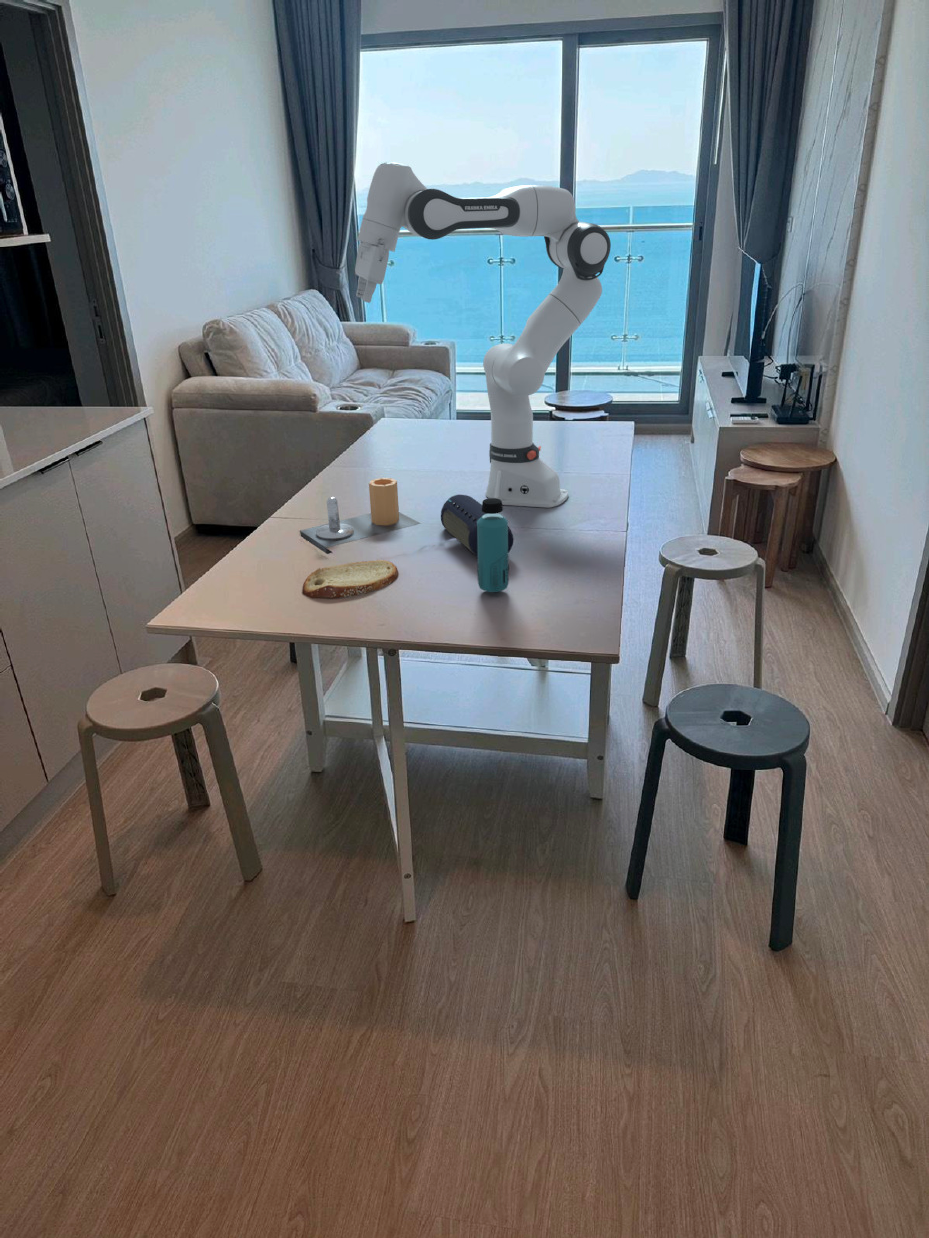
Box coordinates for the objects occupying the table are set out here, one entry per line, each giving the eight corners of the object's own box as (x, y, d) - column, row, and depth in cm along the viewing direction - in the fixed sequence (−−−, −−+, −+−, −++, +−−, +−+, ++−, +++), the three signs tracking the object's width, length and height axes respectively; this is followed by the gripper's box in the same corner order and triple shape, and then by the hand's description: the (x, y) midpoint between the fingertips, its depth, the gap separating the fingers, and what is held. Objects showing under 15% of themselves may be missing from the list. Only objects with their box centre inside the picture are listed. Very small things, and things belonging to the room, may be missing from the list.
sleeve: (390, 514, 211) (387, 476, 207) (403, 521, 206) (401, 482, 202) (367, 519, 208) (364, 481, 203) (380, 527, 203) (378, 487, 199)
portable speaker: (435, 532, 204) (434, 493, 199) (473, 526, 207) (472, 487, 203) (477, 569, 183) (477, 526, 179) (518, 561, 187) (518, 519, 182)
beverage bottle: (506, 600, 169) (506, 506, 160) (474, 597, 170) (472, 504, 161) (511, 586, 174) (511, 495, 165) (480, 584, 176) (479, 494, 166)
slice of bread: (403, 570, 184) (402, 554, 182) (378, 605, 168) (377, 588, 167) (327, 564, 188) (326, 549, 186) (296, 598, 172) (293, 581, 170)
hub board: (392, 513, 216) (389, 474, 211) (420, 529, 206) (419, 487, 201) (300, 536, 203) (295, 494, 198) (326, 553, 192) (322, 510, 188)
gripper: (399, 244, 183) (383, 308, 188) (383, 241, 201) (368, 299, 206) (372, 235, 181) (356, 300, 186) (357, 232, 199) (344, 292, 203)
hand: (362, 299), depth 196 cm, fingers open, 8 cm apart
